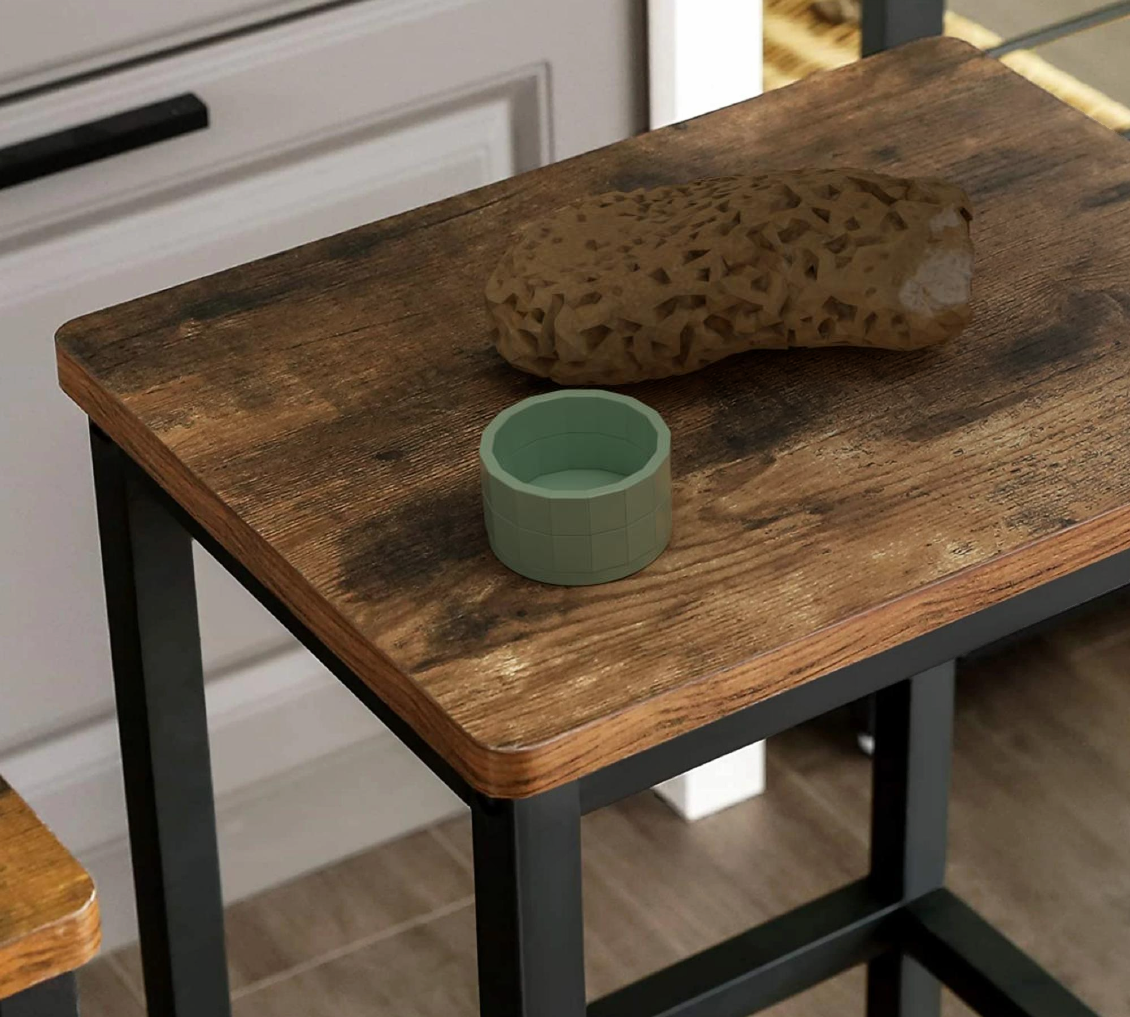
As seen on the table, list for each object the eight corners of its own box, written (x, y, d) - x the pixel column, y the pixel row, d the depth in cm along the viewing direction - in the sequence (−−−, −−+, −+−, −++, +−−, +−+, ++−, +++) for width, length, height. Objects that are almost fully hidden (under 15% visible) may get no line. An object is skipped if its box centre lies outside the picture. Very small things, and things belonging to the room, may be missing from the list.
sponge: (940, 280, 97) (503, 201, 97) (989, 143, 91) (525, 58, 91) (942, 491, 88) (462, 406, 88) (997, 355, 82) (483, 263, 82)
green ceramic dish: (702, 499, 83) (701, 412, 80) (623, 605, 78) (619, 515, 75) (539, 458, 85) (534, 373, 83) (454, 558, 80) (445, 471, 78)
